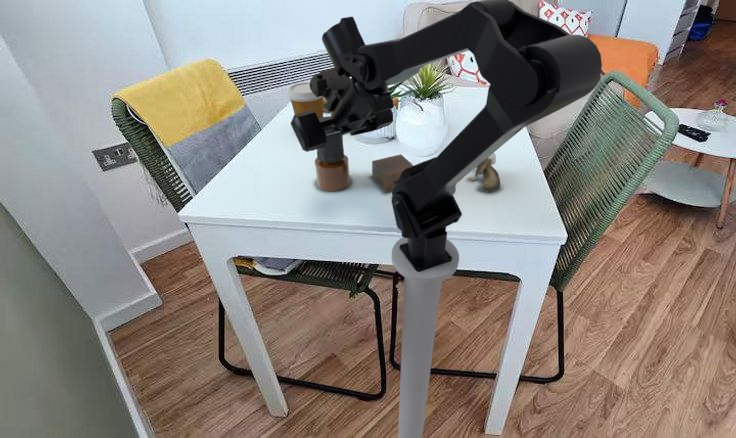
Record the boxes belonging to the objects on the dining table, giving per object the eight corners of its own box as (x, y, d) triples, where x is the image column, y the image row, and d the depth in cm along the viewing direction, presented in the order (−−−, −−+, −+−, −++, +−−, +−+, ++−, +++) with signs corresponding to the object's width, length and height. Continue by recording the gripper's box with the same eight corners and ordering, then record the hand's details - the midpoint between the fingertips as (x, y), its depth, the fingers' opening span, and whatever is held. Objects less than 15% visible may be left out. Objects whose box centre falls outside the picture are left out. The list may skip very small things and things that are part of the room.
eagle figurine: (453, 167, 83) (466, 182, 75) (473, 139, 81) (488, 151, 73) (480, 183, 85) (495, 198, 77) (500, 156, 83) (518, 169, 75)
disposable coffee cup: (306, 122, 109) (300, 79, 101) (335, 127, 105) (331, 83, 98) (286, 135, 102) (279, 91, 95) (316, 141, 98) (311, 95, 91)
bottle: (354, 186, 80) (352, 152, 75) (323, 194, 78) (319, 160, 73) (343, 171, 85) (340, 139, 81) (313, 178, 83) (309, 145, 79)
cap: (349, 155, 78) (347, 120, 74) (330, 165, 75) (327, 129, 70) (331, 147, 81) (327, 114, 77) (312, 157, 78) (307, 122, 73)
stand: (415, 184, 80) (416, 168, 78) (385, 192, 78) (385, 176, 76) (400, 170, 85) (401, 154, 83) (372, 177, 83) (371, 160, 81)
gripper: (383, 46, 66) (353, 93, 80) (285, 66, 57) (270, 115, 71) (411, 103, 65) (375, 140, 79) (316, 131, 57) (295, 167, 71)
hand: (331, 139), depth 75 cm, fingers open, 9 cm apart
